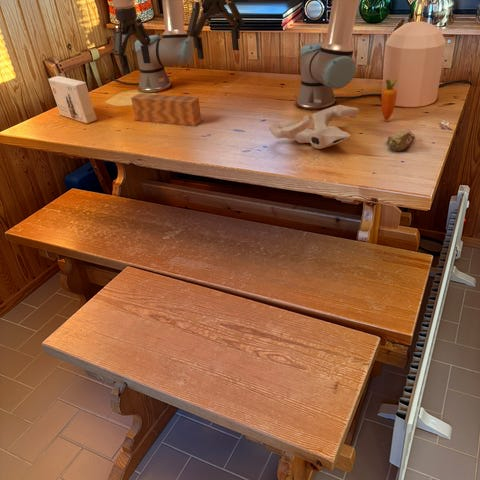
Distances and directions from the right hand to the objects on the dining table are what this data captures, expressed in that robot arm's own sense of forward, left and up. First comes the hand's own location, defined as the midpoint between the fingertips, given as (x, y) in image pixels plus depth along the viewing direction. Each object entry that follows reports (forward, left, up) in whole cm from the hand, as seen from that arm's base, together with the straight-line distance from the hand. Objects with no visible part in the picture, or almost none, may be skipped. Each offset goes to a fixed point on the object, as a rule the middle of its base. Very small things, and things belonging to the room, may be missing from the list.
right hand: (218, 54), depth 152 cm
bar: (+12, -29, -28) cm, 42 cm away
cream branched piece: (-21, +29, -28) cm, 45 cm away
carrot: (-51, +26, -28) cm, 64 cm away
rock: (-40, +45, -28) cm, 66 cm away
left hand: (+18, -37, -8) cm, 42 cm away
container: (-74, +13, -28) cm, 80 cm away
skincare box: (+42, -59, -28) cm, 78 cm away
